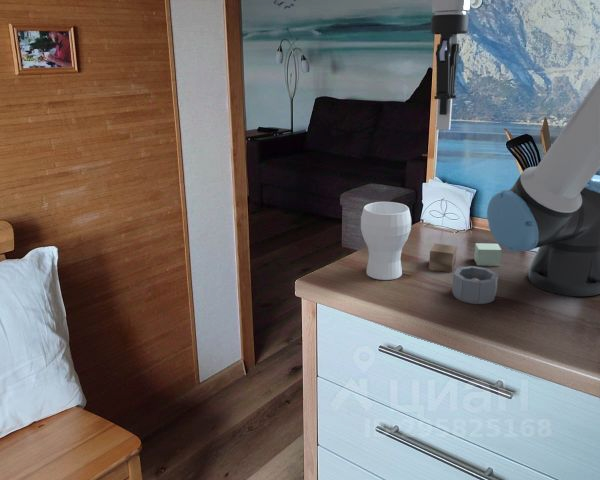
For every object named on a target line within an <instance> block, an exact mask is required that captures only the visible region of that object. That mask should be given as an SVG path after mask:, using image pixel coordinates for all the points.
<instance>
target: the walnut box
mask: <svg viewBox="0 0 600 480" xmlns="http://www.w3.org/2000/svg"><path fill="white" fill-rule="evenodd" d="M457 248H458V246H457V245H450V244H443V243H442V244H441V243H434V244H433V245H432V247H431V248H430V250H429V261H428V262H429V264H428V270H433V271H440V272H445V273H446V272H447V273H453V271H454V268H455V267H456V263H457V262H456V261H457V250H458V249H457Z"/></svg>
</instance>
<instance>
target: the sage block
mask: <svg viewBox="0 0 600 480" xmlns="http://www.w3.org/2000/svg"><path fill="white" fill-rule="evenodd" d="M501 259H502V248H501V245H500V244H499V243H480V242H479V243H478V242H477V243H476V242H475V245H474V256H473V260H474V262H475V264H476V267H481V266H484V267H501Z"/></svg>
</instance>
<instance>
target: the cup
mask: <svg viewBox="0 0 600 480" xmlns="http://www.w3.org/2000/svg"><path fill="white" fill-rule="evenodd" d="M360 230H361V234H362V237H363V240H364V242H365V244H366V246H367V250H368V261H367V264H366V265H367V266H366V271H365V272H366V275H367V276H368V277H370V278H372V279H376V280H383V281H390V280H391V281H392V280H396V279H398V278H400V277H402V275H403V271H402V270H403V269H402V262H401V261H402V260H401V256H402V251H403V248H404V246H405V244H406V242H407V241H408V238H409V237H410V233H411V230H412V216H411V211H410V208H409V206H407V205H406V204H404V203H399V202H394V201H375V202H371V203H368V204H366V205H364V207H363V208H362V213H361V216H360Z"/></svg>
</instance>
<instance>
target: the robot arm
mask: <svg viewBox="0 0 600 480" xmlns="http://www.w3.org/2000/svg"><path fill="white" fill-rule="evenodd" d="M429 2H430V3H431V6H432V7H431V12H432V14H434V15H432V17H431V18H430V19H431V21H430V34H431V35H440V39H439V43H438V44H437V46H436V50H435V57H436V86H435V87H436V90H435V91H436V93H435V96H433V97H434V100H437V110H436V111H437V112H436V113H437V115H436V130H437V131H438V130H439V131H450V130H451V122H452V108H453V106H452V105H453V99H456V98H457V95H456V94H455V87H456V79H457V78H456V77H457V69H458V61H459V60H458V59H459V54H460V43H458V35H466V34H468V32H469V23H470V21H469V19H470V16H469V15H468V14H467V13H468V12H470V10H471V0H429ZM599 170H600V76H599V77H598V79H597V80H596V82H595V83H594V84H593V86H592V87H591V89H590V90H589V92H588V93H587V94H586V96H585V97H584V99H583V100H582V101H581V102H580V104H579V106H578V107H577V109H576V110H575V112H574V113H573V115H572V116H571V117H570V118H569V120H568V122H567V123H566V124H565V126H564V127H563V129H562V130H561V132H559V134H558V136H557V138H555V140H554V142H553V143H552V144H551V146H550V147H549V149H548V150H547V152H546V153H545V154H544V156H543V157H542V158H541V160H540V161H539V163H538V165H537V166H530V167H527V168H525V169H524V170H523V171H522V172H521V174H520V176H519V177H518V178H517V180H516V181H515V182H514V184H513V185H512V186H511V188H510V189H504V190H501V191H499V192H497V193H495V194H494V195H493V196H492V197H491V198H490V199H489V202H488V205H487V209H486V219H487V221H488V222H487V223H488V228H489V230H490V233H491V234H492V236H493V238H494V239H495V241H496V242H497V244H498V245H499V246H500V247H501V246H502V247H503V248H504V249H506V250H508V251H511V252H524V251H525V252H527V251H532V250H534V249H537V252H536V253H535V255H534V256H533V259H532V261H531V263H530V265H529V269H528V276H527V277H528V280H529V281H530V282H531V283H532V284H533V285H534V286H536V287H538V288H540V289H542V290H545V291H548V292H550V293H554V294H559V295H563V296H571V297H593V296H598V295H600V175H599V174H597V173H598V171H599Z"/></svg>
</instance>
